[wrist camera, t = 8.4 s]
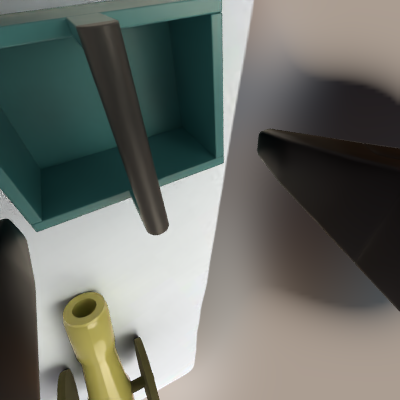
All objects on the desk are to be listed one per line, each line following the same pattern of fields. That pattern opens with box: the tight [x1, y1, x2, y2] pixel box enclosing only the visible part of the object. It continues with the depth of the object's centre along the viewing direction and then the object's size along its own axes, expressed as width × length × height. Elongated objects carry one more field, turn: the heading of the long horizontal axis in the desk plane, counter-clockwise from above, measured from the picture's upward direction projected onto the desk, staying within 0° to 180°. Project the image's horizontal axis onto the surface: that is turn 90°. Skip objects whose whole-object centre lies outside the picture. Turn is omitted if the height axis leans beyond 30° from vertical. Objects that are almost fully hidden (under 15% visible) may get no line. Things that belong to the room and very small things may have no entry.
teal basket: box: [0, 0, 224, 235], centre depth 13 cm, size 9×12×10 cm
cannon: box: [57, 292, 159, 400], centre depth 30 cm, size 25×12×11 cm, turn 173°
